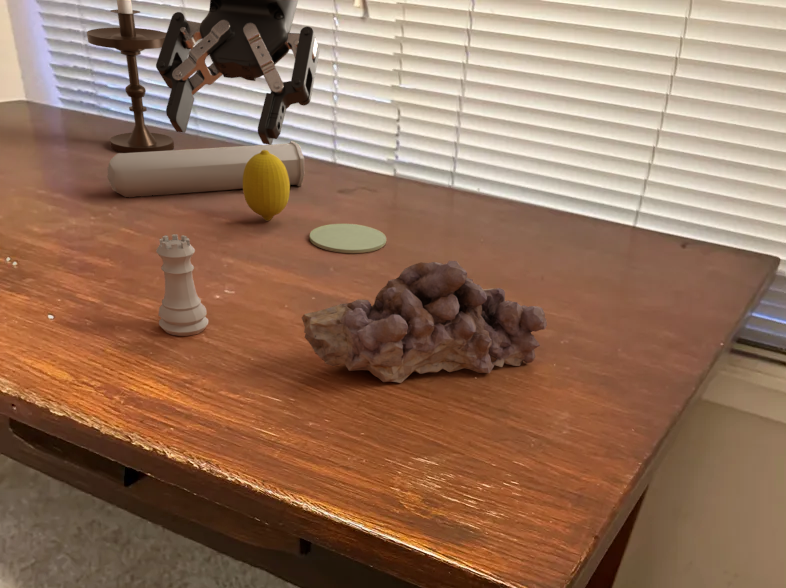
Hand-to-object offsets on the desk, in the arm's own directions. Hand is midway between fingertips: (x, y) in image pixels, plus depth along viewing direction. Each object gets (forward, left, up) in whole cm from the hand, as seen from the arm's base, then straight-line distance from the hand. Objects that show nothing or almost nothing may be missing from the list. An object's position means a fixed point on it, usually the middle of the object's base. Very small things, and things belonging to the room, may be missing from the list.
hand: (220, 133), depth 74 cm
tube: (-8, +32, -14) cm, 36 cm away
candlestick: (-21, +51, -14) cm, 57 cm away
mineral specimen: (+19, -15, -14) cm, 28 cm away
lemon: (+1, +21, -14) cm, 25 cm away
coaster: (+11, +16, -14) cm, 24 cm away
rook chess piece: (-3, -10, -14) cm, 18 cm away
